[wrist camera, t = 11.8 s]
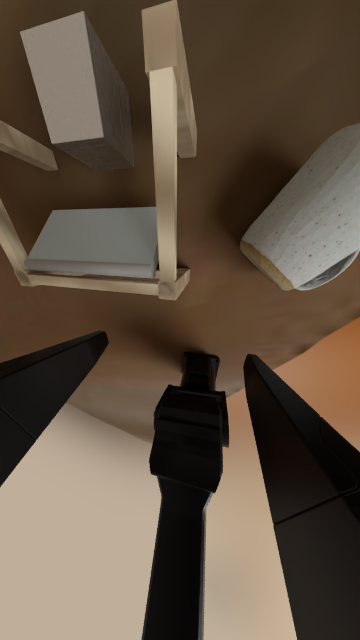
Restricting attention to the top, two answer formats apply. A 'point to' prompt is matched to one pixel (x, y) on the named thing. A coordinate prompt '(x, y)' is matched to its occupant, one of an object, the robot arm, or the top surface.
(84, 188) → the top surface
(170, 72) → the birch frame
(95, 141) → the steel cube
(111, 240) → the flap
